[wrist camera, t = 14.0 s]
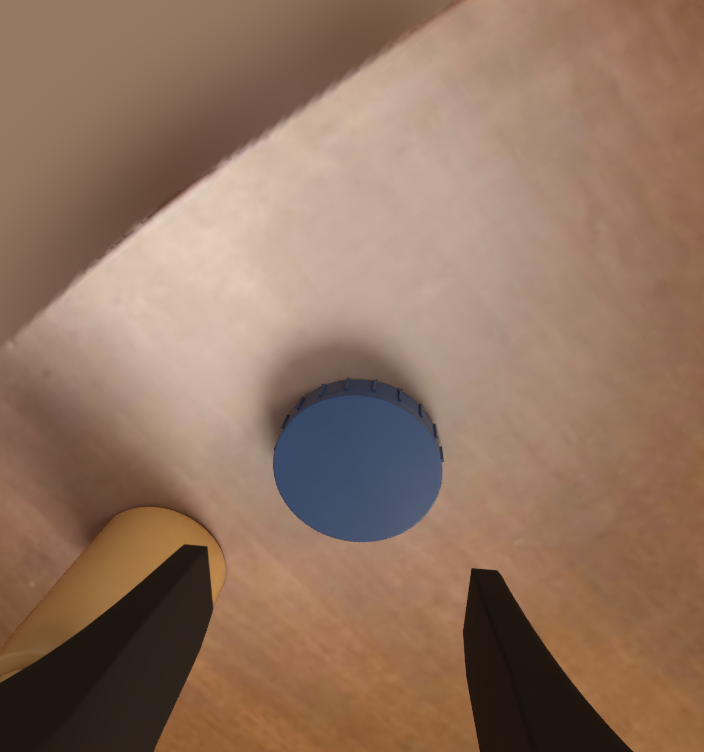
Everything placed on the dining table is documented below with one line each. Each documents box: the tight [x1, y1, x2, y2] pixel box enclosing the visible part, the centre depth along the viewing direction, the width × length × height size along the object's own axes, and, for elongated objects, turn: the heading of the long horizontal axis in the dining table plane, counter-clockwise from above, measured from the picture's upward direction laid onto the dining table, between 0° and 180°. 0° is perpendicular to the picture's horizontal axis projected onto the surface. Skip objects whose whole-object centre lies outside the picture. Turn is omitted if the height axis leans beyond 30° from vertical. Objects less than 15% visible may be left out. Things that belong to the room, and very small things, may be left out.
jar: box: [0, 506, 226, 683], centre depth 18 cm, size 6×6×8 cm
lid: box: [273, 378, 444, 542], centre depth 19 cm, size 6×6×2 cm
